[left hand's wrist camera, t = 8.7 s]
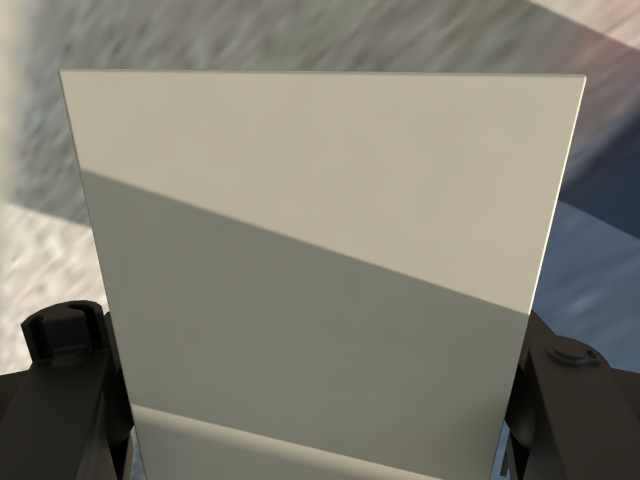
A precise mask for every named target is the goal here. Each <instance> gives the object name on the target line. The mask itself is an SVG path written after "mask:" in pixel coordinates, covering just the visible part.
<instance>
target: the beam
mask: <svg viewBox="0 0 640 480" xmlns="http://www.w3.org/2000/svg"><path fill="white" fill-rule="evenodd" d="M58 74H59V78H60V83H61V88H62V92H63V97H64V101H65V106H66V111H67V115H68V120H69V125H70V129H71V134H72V139H73V143H74V148H75V152H76V157H77V162H78V166H79V171H80V176H81V180H82V185H83V190H84V194H85V199H86V203H87V208H88V213H89V217H90V222H91V227H92V231H93V236H94V241H95V245H96V250H97V254H98V259H99V264H100V268H101V273H102V278H103V282H104V287H105V292H106V296H107V301H108V305H109V310H110V315H111V319H112V324H113V329H114V333H115V338H116V343H117V347H118V352H119V357H120V361H121V366H122V370H123V375H124V380H125V384H126V389H127V394H128V398H129V403H130V408H131V412H132V417H133V421H134V426H135V431H136V435H137V440H138V445H139V449H140V454H141V459H142V463H143V468H144V472H145V477H146V480H490V476H491V472H492V468H493V464H494V460H495V456H496V452H497V447H498V443H499V439H500V435H501V431H502V427H503V423H504V418H505V414H506V410H507V406H508V402H509V398H510V394H511V389H512V385H513V381H514V377H515V373H516V369H517V365H518V360H519V356H520V352H521V348H522V344H523V340H524V336H525V331H526V327H527V323H528V319H529V315H530V311H531V306H532V302H533V298H534V294H535V290H536V286H537V282H538V277H539V273H540V269H541V265H542V261H543V257H544V253H545V248H546V244H547V240H548V236H549V232H550V228H551V224H552V219H553V215H554V211H555V207H556V203H557V199H558V195H559V190H560V186H561V182H562V178H563V174H564V170H565V165H566V161H567V157H568V153H569V149H570V145H571V141H572V136H573V132H574V128H575V124H576V120H577V116H578V112H579V107H580V103H581V99H582V95H583V91H584V87H585V83H586V76H585V75H583V74H526V73H442V72H358V71H274V70H190V69H106V68H61V69H59V71H58Z"/></svg>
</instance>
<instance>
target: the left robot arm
mask: <svg viewBox="0 0 640 480" xmlns="http://www.w3.org/2000/svg"><path fill="white" fill-rule="evenodd" d="M21 328H22V331H23V334H24V337H25V340H26V343H27V346H28V349H29V353H30V356H31V359H32V362H33V363H32V364H31V366H30V368H29V370H26V371H21V372H16V373H11V374H5V375H0V480H130V473H131V465H132V458H133V450H134V447H133V440H132V436H131V432H130V431H131V429H132V428H133V426H134V421H133V417H132V412H131V408H130V403H129V398H128V394H127V389H126V384H125V380H124V375H123V370H122V366H121V361H120V357H119V352H118V347H117V343H116V338H115V333H114V329H113V324H112V319H111V315H110V312H107V313H106V314H105V315H104V314H103V310H102V306H101V305H99V304H98V303H96V302H93V301H87V300H79V301H68V302H64V303H59V304H55V305H52V306H50V307H47V308H44V309H41V310H40V311H38V312H36V313H34V314H32V315H31V316H29V317H28V318H27V319H26V320H25V321H24V322H23V323H22V324H21ZM504 419H505V421H506V423H507V425H508V427H509V429H510V432H509V436H508V440H507V445H506V449H505V453H504V458H503V462H502V466H501V473H500V476H504V477H506V475H507V470H508V468H509V472H510V479H511V480H640V374H639V373H634V372H629V371H624V370H619V369H614V368H611V367H610V365H609V364H608V362H607V361H606V359H605V358H604V357H603V356H602V355H601V354H600V353H599V352H598V351H596V350H595V349H593V348H592V347H590V346H589V345H587V344H584V343H582V342H580V341H577V340H575V339H571V338H567V337H563V336H558V335H555V334H554V332H553V331H552V330H551V329H550V328H549V327H548V326H547V325H546V324H545V323H544V322H543V321H542V320H541V318H540V317H539V316H538V315H537V314H536V313H535V312H534V311H533V310H531V311H530V315H529V319H528V323H527V327H526V331H525V336H524V340H523V344H522V348H521V352H520V356H519V360H518V365H517V369H516V373H515V377H514V381H513V385H512V389H511V394H510V398H509V402H508V406H507V410H506V414H505V418H504Z"/></svg>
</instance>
